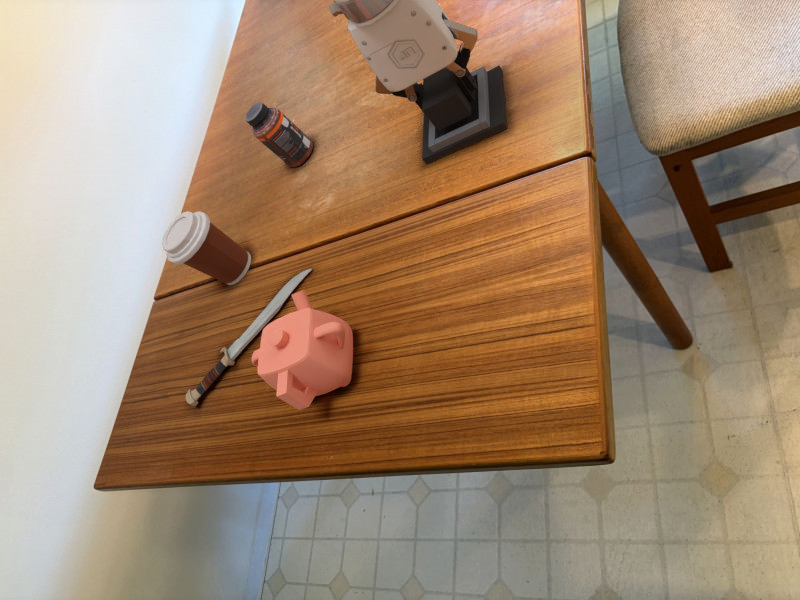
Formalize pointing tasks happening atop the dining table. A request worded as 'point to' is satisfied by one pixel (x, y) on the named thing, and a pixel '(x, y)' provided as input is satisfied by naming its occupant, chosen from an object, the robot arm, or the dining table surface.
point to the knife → (244, 339)
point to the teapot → (305, 353)
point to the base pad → (470, 118)
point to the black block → (444, 99)
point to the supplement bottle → (279, 134)
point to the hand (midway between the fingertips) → (453, 102)
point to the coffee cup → (205, 248)
